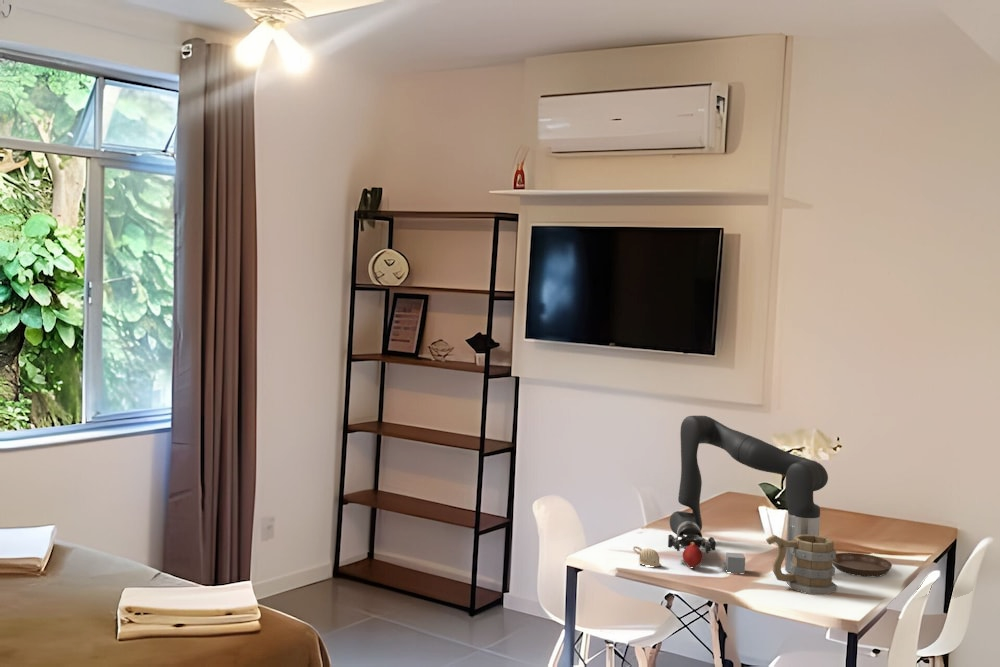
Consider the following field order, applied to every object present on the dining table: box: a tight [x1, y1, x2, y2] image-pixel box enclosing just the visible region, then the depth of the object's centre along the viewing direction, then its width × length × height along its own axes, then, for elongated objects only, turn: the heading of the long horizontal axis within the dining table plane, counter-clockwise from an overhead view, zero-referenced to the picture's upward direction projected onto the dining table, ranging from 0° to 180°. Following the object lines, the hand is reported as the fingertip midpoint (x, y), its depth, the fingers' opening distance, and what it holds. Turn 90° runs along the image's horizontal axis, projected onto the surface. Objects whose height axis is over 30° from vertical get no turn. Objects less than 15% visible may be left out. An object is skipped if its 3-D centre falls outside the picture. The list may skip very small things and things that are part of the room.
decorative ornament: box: [632, 545, 662, 567], centre depth 295 cm, size 4×8×5 cm, turn 64°
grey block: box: [725, 552, 746, 573], centre depth 292 cm, size 5×5×5 cm
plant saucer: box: [833, 552, 893, 577], centre depth 298 cm, size 18×18×3 cm
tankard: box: [765, 534, 838, 595], centre depth 278 cm, size 20×13×15 cm, turn 92°
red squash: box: [682, 542, 703, 569], centre depth 294 cm, size 6×6×8 cm
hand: (693, 548), depth 293 cm, fingers open, 8 cm apart
